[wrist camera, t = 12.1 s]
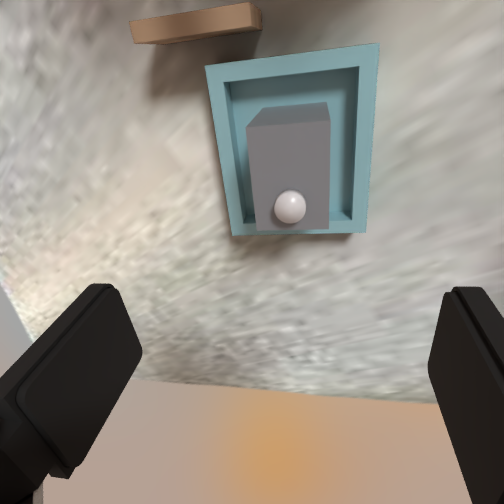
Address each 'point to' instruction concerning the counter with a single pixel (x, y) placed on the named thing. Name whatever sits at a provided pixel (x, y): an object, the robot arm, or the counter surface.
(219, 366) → the counter surface
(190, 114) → the counter surface
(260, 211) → the grey rectangular block
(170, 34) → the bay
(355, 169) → the tray
